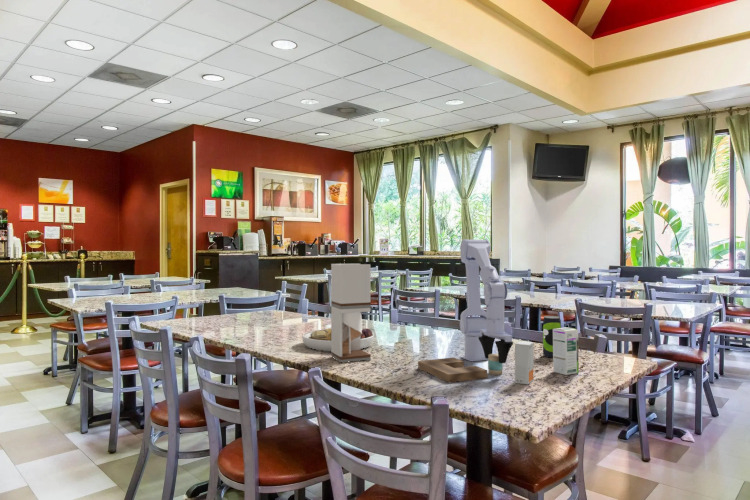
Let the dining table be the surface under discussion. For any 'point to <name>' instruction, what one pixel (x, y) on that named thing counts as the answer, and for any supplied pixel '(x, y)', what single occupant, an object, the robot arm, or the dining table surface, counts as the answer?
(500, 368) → the wooden bobbin
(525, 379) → the skincare box
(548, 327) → the beverage can
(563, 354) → the syrup box
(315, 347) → the bowl
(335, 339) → the white cutaway tower
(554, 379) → the dining table surface
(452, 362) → the notched board
